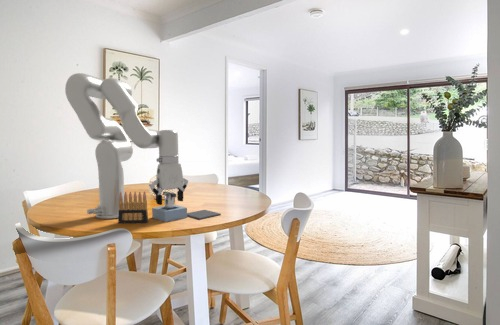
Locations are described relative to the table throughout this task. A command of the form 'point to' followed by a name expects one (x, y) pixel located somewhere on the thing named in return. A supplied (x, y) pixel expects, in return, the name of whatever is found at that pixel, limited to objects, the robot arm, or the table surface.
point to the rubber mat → (202, 214)
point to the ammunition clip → (132, 209)
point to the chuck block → (169, 213)
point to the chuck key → (169, 200)
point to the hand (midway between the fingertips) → (170, 202)
